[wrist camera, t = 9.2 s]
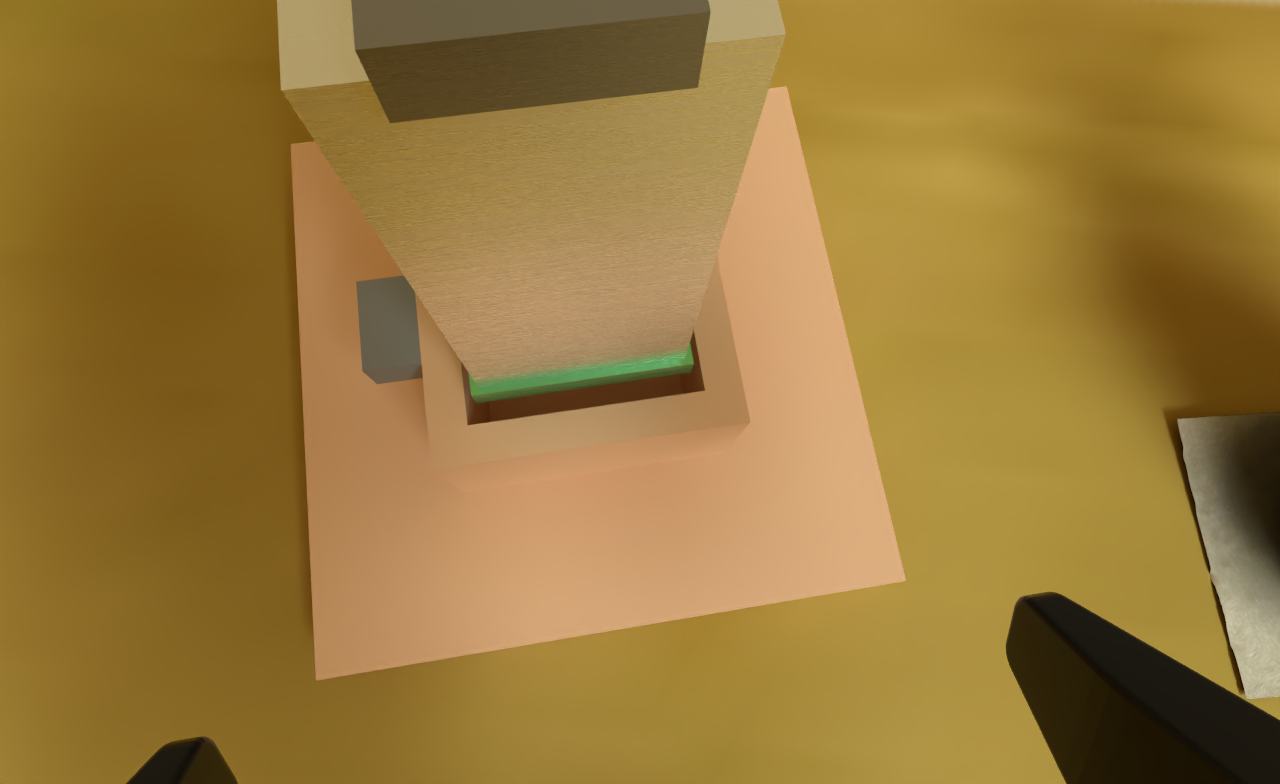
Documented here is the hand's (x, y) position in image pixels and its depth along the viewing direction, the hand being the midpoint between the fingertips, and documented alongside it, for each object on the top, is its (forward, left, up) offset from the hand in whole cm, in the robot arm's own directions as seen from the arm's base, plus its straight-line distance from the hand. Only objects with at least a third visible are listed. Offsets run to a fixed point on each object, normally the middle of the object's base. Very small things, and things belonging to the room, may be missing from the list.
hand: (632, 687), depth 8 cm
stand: (+7, 0, -11) cm, 13 cm away
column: (+7, 0, -6) cm, 9 cm away
